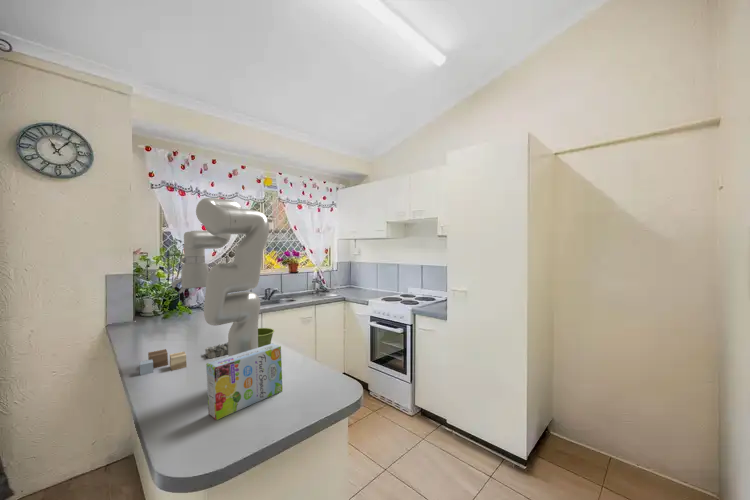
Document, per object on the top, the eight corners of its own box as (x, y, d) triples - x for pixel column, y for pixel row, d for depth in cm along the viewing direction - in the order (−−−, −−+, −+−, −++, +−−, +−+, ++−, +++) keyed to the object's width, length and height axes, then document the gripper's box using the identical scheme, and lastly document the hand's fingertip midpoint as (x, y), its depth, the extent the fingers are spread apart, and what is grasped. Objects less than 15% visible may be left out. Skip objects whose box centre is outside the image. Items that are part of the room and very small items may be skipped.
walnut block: (167, 365, 124) (167, 352, 124) (149, 369, 121) (149, 356, 120) (166, 360, 129) (165, 349, 129) (148, 364, 125) (148, 352, 125)
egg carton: (208, 360, 130) (208, 350, 130) (204, 355, 135) (203, 346, 135) (235, 353, 137) (234, 344, 137) (229, 349, 142) (229, 340, 142)
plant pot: (265, 364, 123) (264, 336, 123) (238, 362, 126) (238, 335, 126) (280, 353, 135) (279, 328, 135) (255, 352, 137) (254, 327, 137)
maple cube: (186, 367, 122) (186, 354, 122) (171, 370, 119) (171, 358, 119) (184, 363, 126) (184, 351, 126) (170, 366, 123) (169, 354, 123)
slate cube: (153, 372, 117) (153, 362, 117) (140, 375, 115) (139, 365, 115) (152, 369, 120) (152, 359, 120) (139, 372, 118) (139, 361, 118)
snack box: (273, 386, 105) (272, 342, 104) (283, 391, 101) (282, 345, 101) (207, 414, 88) (205, 362, 88) (216, 421, 85) (214, 367, 84)
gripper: (171, 262, 123) (172, 304, 124) (219, 260, 133) (220, 299, 134) (169, 261, 129) (171, 302, 130) (215, 259, 139) (216, 297, 140)
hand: (195, 300), depth 132 cm, fingers open, 9 cm apart
